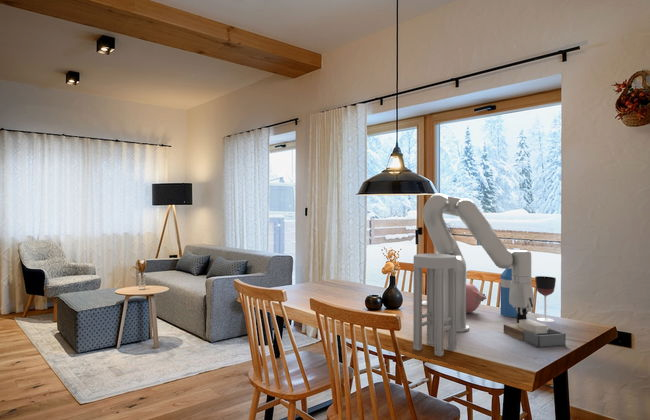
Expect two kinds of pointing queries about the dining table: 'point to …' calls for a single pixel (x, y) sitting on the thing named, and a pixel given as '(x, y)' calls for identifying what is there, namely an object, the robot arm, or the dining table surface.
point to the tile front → (537, 328)
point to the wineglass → (545, 291)
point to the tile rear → (525, 323)
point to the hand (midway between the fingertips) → (521, 323)
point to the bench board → (514, 330)
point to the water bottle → (506, 294)
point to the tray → (545, 338)
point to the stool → (435, 301)
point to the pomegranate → (473, 297)
